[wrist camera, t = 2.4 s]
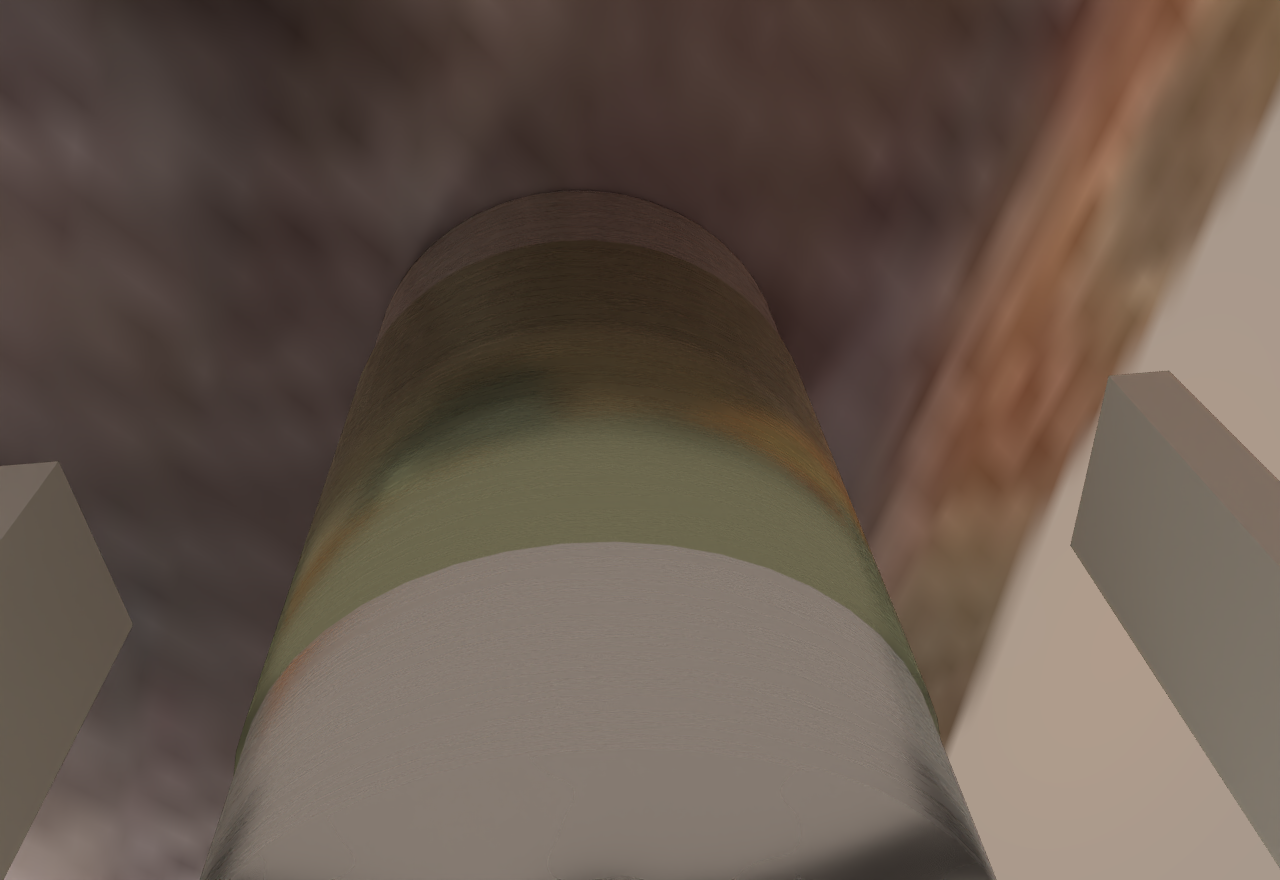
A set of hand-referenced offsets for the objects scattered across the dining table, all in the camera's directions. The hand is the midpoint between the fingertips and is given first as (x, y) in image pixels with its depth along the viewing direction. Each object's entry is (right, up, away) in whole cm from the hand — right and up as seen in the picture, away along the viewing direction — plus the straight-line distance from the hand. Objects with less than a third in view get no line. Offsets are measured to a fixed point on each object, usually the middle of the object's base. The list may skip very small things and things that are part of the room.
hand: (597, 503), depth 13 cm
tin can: (0, +2, +3) cm, 3 cm away
